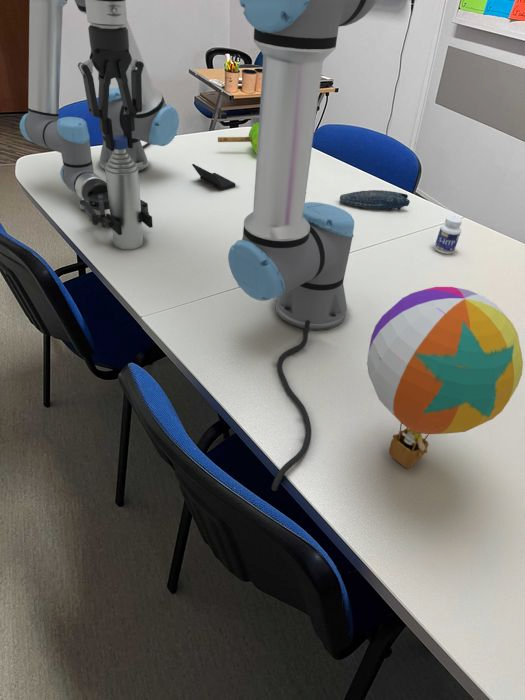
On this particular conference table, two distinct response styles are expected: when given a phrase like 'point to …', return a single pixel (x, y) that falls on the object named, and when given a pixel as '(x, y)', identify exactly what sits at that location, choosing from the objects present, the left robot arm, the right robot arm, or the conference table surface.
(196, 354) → the conference table surface
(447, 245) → the pill bottle
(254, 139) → the decorative tree
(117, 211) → the bottle
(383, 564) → the conference table surface
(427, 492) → the conference table surface
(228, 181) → the handheld gaming console
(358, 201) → the fish model
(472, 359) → the toy
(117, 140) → the cap
